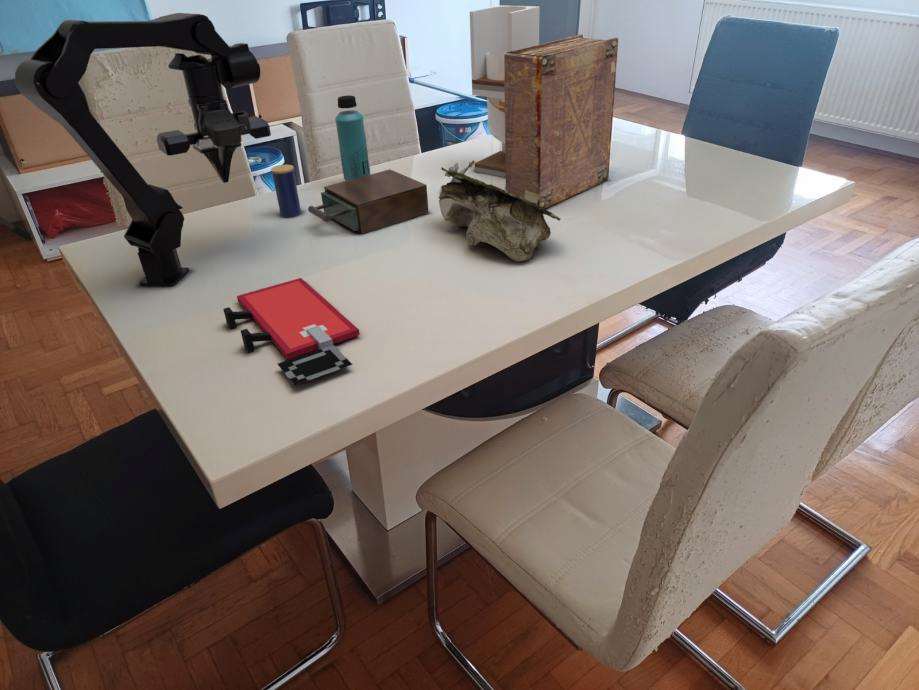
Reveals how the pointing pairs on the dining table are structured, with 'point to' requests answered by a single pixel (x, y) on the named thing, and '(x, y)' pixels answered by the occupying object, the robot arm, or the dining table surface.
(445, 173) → the dry twiggy plant
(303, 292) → the red board with handle
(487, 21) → the display case
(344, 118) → the beverage bottle
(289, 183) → the tin
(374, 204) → the cabinet
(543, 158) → the book
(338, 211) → the drawer
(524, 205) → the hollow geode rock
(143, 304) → the dining table surface
